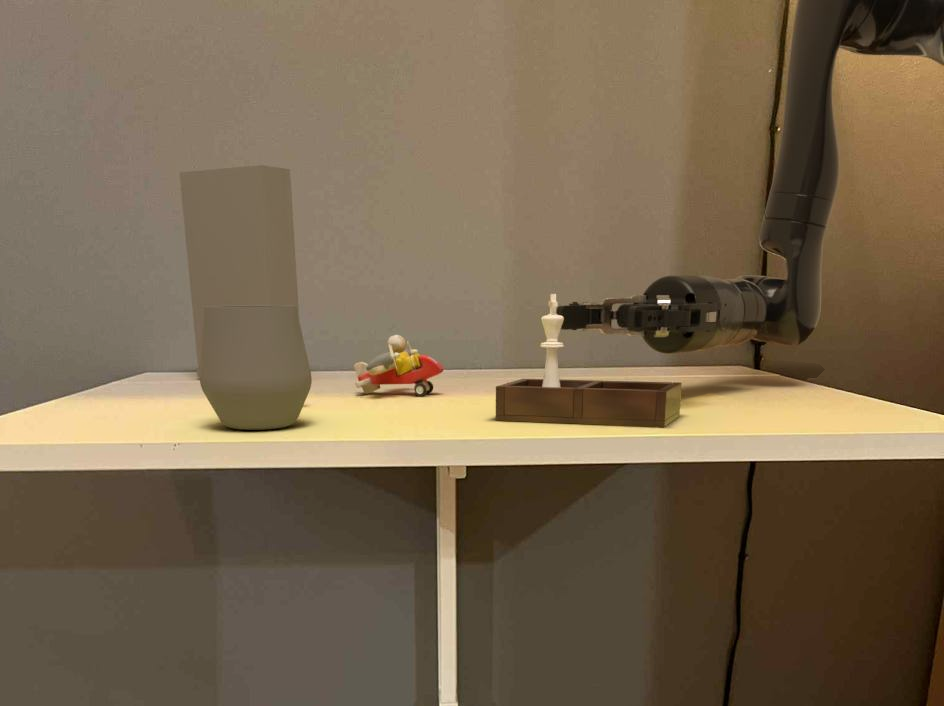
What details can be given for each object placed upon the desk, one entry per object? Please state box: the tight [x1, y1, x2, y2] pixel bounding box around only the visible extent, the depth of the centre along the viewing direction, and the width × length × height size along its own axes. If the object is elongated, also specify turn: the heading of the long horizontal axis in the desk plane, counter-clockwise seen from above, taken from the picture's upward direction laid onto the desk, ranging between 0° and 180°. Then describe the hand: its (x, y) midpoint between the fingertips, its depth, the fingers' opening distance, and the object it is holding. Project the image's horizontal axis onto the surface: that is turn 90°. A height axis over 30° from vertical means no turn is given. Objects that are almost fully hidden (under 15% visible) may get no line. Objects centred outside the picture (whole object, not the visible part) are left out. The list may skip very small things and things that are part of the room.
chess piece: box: [539, 293, 565, 387], centre depth 89 cm, size 5×5×10 cm
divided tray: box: [495, 378, 682, 428], centre depth 89 cm, size 15×8×3 cm, turn 69°
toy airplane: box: [353, 334, 444, 397], centre depth 110 cm, size 9×9×6 cm
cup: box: [199, 305, 313, 431], centre depth 84 cm, size 10×9×10 cm
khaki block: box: [179, 164, 300, 378], centre depth 126 cm, size 14×6×25 cm, turn 59°
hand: (594, 318), depth 92 cm, fingers open, 8 cm apart
